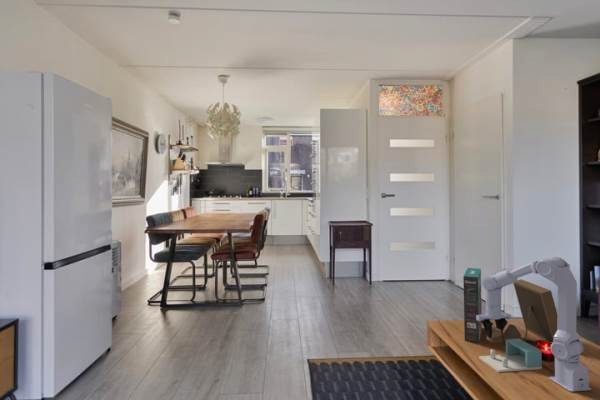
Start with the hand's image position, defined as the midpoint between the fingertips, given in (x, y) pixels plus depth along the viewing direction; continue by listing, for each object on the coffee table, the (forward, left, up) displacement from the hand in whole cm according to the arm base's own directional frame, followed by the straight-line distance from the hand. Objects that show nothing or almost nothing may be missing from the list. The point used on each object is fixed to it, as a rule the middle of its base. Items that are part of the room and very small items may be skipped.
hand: (494, 336), depth 151 cm
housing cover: (-8, -6, -8) cm, 13 cm away
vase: (+8, -14, -8) cm, 18 cm away
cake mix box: (+23, -5, -8) cm, 24 cm away
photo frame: (+14, -29, -8) cm, 33 cm away
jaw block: (0, 0, -2) cm, 2 cm away
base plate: (-8, 0, -8) cm, 11 cm away
